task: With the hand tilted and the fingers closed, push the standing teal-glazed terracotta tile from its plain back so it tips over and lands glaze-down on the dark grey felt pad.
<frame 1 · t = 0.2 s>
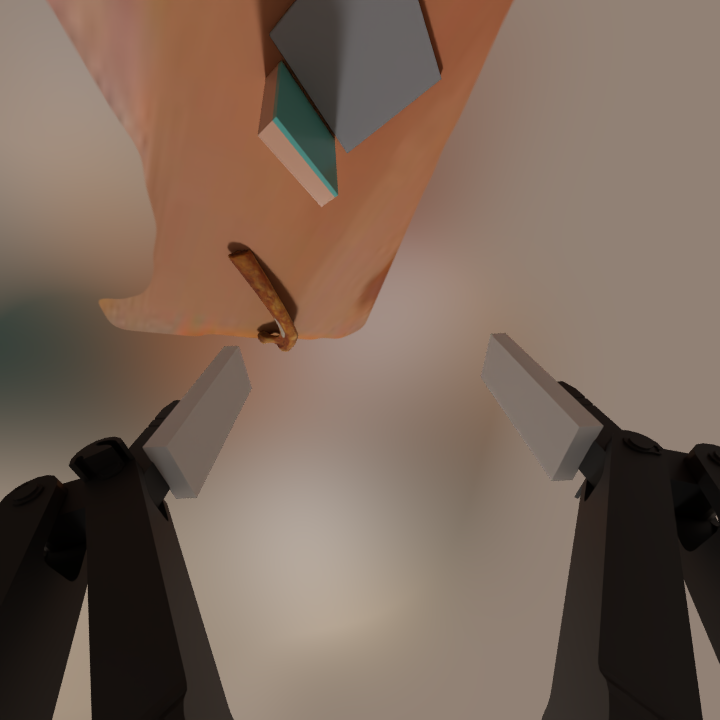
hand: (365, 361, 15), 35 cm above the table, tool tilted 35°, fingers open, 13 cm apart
brown curved bar: (272, 301, 67), on the table
tile: (303, 111, 33), on the table
pad: (360, 55, 29), on the table
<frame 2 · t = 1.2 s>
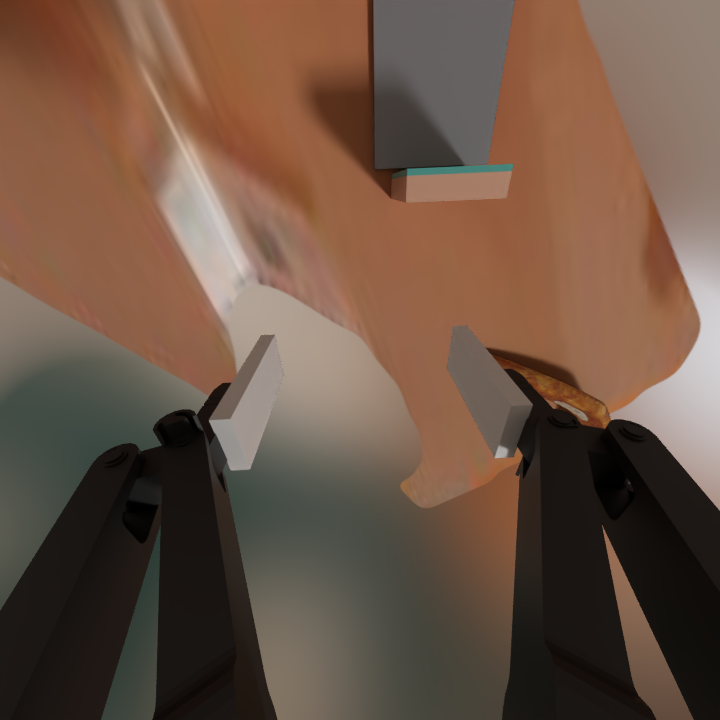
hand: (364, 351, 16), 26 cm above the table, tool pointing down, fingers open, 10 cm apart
brown curved bar: (534, 387, 51), on the table
tile: (428, 185, 34), on the table
pad: (435, 91, 29), on the table
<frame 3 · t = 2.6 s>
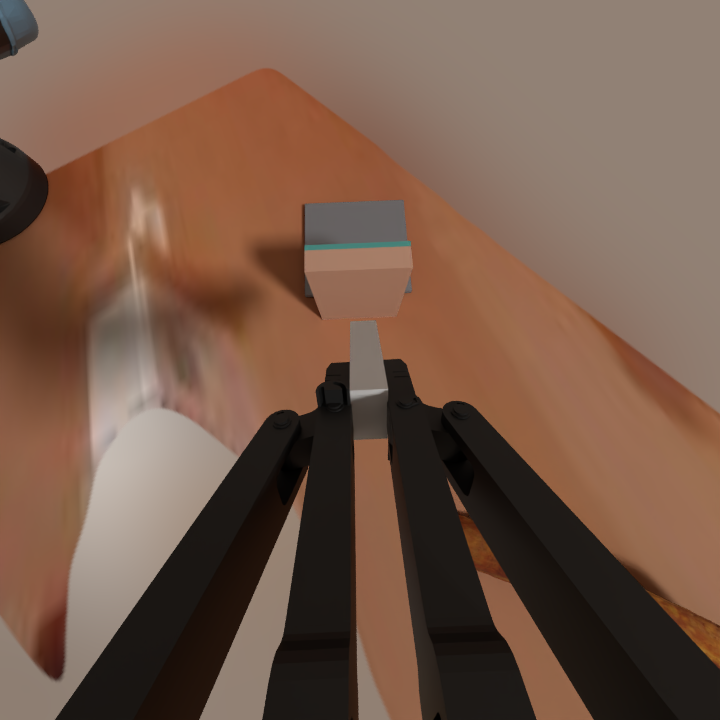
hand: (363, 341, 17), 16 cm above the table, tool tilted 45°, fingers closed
brown curved bar: (597, 610, 28), on the table
tile: (359, 308, 34), on the table
pad: (356, 248, 36), on the table
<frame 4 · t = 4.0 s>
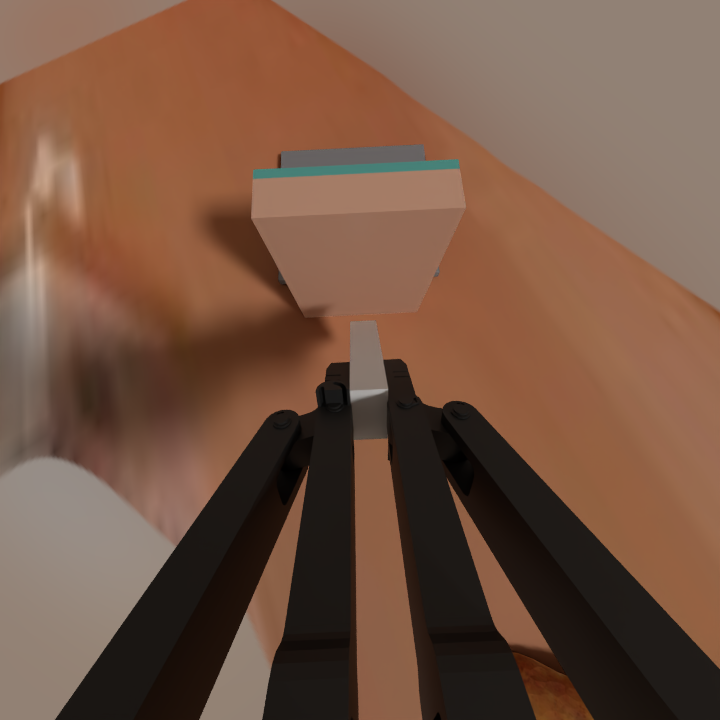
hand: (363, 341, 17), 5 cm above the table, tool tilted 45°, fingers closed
tile: (360, 300, 23), on the table
pad: (355, 213, 24), on the table
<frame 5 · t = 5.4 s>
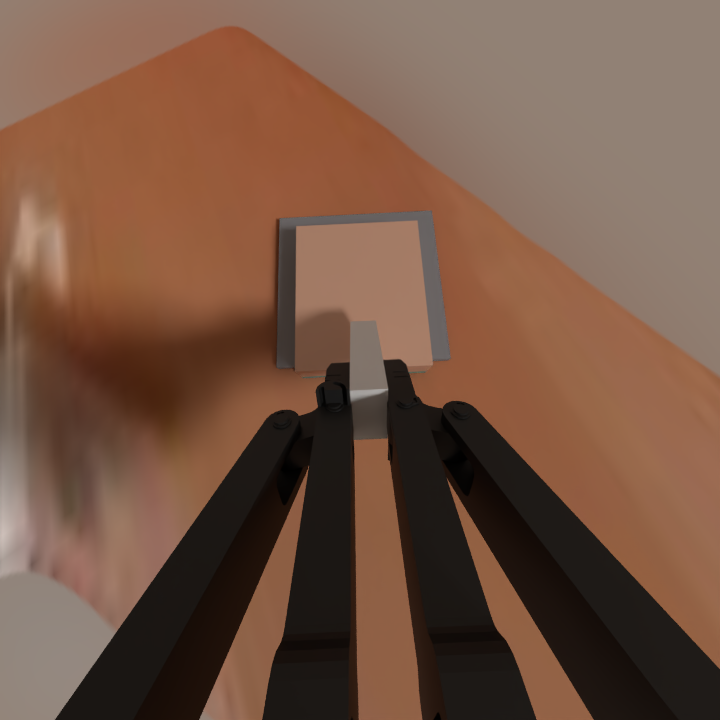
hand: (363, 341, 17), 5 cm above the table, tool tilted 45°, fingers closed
tile: (363, 372, 19), point 2 cm above the table, tilted 90°, touching pad
pad: (359, 287, 23), on the table
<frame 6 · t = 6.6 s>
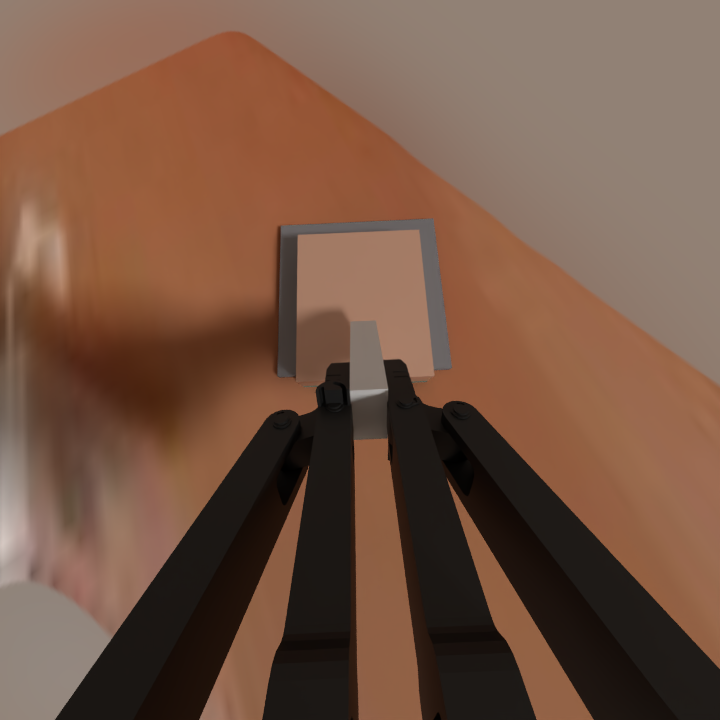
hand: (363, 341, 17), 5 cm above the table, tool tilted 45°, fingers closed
tile: (365, 381, 19), point 2 cm above the table, tilted 90°, touching pad
pad: (360, 295, 23), on the table
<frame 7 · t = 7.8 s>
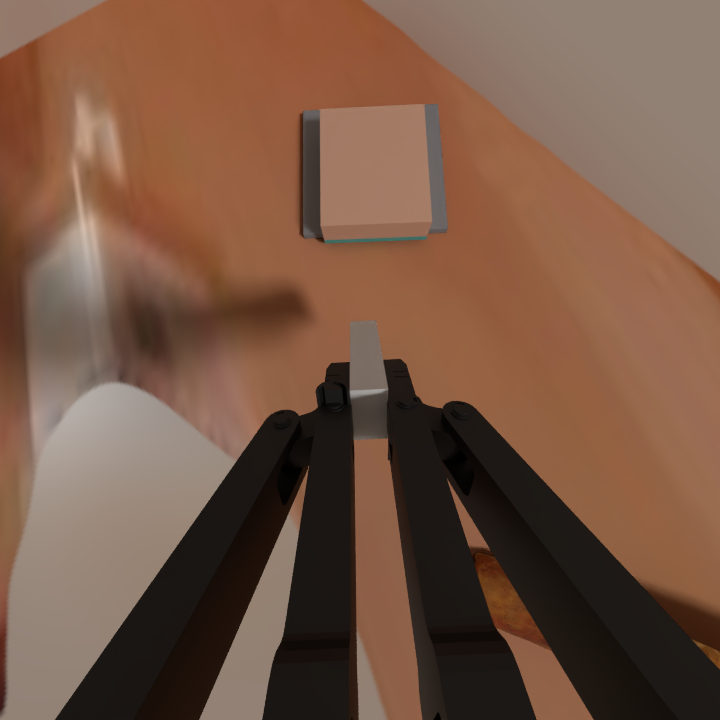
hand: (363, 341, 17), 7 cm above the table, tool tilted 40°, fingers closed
brown curved bar: (672, 675, 21), on the table
tile: (375, 233, 24), point 2 cm above the table, tilted 90°, touching pad
pad: (372, 172, 27), on the table
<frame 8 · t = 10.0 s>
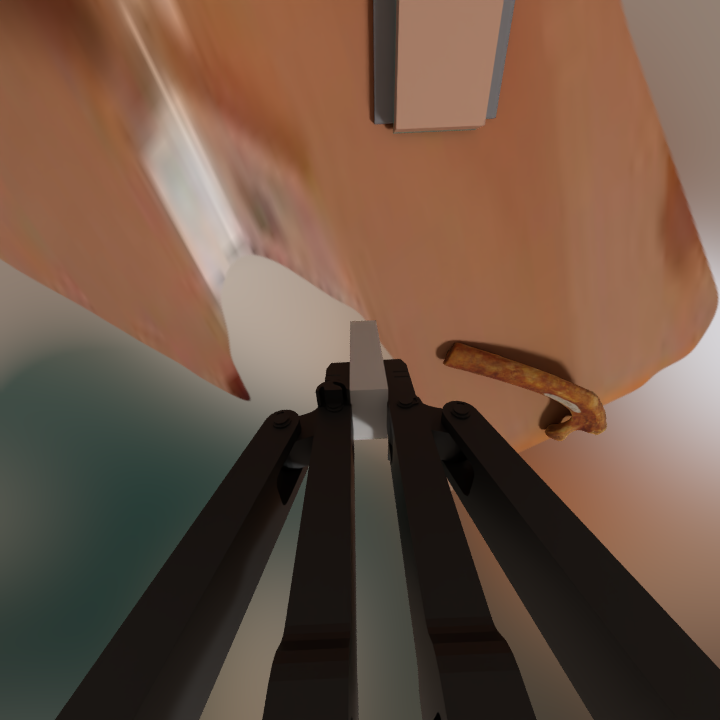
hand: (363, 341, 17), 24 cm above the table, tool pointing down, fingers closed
brown curved bar: (525, 380, 50), on the table
tile: (437, 129, 29), point 2 cm above the table, tilted 90°, touching pad
pad: (440, 34, 27), on the table
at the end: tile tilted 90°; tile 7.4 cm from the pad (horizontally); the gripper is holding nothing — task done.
